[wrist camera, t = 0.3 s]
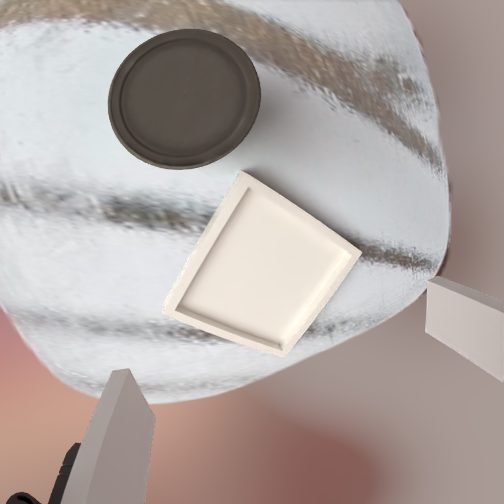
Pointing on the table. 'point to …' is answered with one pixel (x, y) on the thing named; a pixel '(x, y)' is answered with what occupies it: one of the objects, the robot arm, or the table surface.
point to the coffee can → (184, 99)
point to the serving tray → (259, 270)
